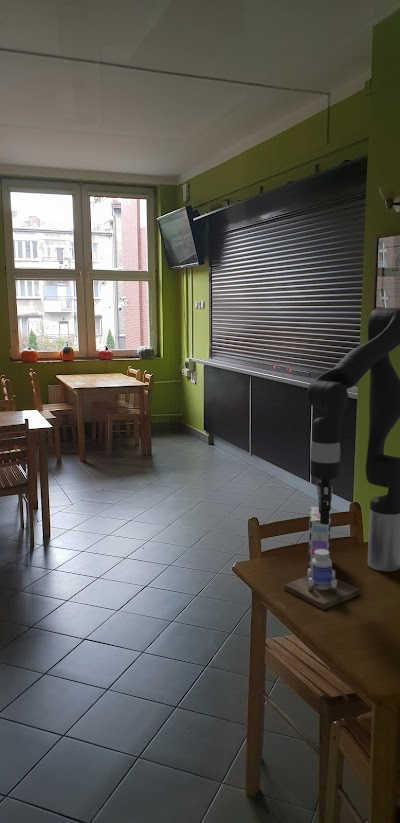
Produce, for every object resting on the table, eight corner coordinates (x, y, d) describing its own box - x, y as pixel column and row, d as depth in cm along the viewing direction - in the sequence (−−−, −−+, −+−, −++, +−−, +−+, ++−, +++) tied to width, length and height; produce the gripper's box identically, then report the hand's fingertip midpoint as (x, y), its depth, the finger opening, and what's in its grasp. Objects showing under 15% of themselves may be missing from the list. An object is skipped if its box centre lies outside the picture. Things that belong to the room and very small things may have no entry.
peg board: (319, 576, 170) (319, 571, 170) (359, 594, 159) (359, 589, 159) (283, 589, 162) (284, 584, 162) (323, 609, 151) (323, 604, 150)
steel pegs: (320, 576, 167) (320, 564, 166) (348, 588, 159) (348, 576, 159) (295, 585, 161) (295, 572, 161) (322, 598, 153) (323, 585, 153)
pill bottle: (334, 589, 158) (335, 554, 157) (315, 591, 157) (316, 556, 156) (326, 581, 163) (327, 547, 162) (308, 583, 162) (308, 548, 161)
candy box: (328, 577, 170) (330, 521, 167) (307, 575, 171) (309, 520, 168) (328, 558, 183) (330, 506, 180) (308, 557, 184) (310, 505, 182)
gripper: (342, 465, 147) (340, 528, 150) (338, 452, 161) (336, 510, 164) (311, 464, 148) (309, 527, 151) (309, 451, 162) (308, 509, 165)
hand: (323, 518), depth 157 cm, fingers open, 8 cm apart
